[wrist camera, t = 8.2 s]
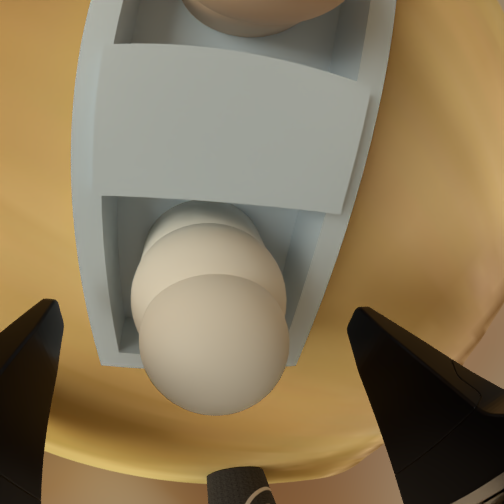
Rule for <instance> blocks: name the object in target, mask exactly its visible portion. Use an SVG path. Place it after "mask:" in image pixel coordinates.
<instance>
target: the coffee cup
mask: <svg viewBox="0 0 504 504" xmlns="http://www.w3.org/2000/svg"><path fill="white" fill-rule="evenodd" d="M207 488H208V489H207V490H208V503H209V504H276V503H275V500H274V498H273V495H272V493H271V490H270V487H269V485H268V482H267V479H266V476H265V474H264V471H263V469H261V468H258V467H237V468H230V469H224V470H220V471H217V472H214V473H211V474H209V475H208V476H207Z"/></svg>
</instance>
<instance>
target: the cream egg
mask: <svg viewBox="0 0 504 504" xmlns="http://www.w3.org/2000/svg"><path fill="white" fill-rule="evenodd" d="M286 301H287V297H286V289H285V283H284V279H283V276H282V273H281V271H280V268H279V266H278V264H277V262H276V261H275V259H274V258H273V256H272V255H271V253H270V252H269V251H268V250H267V249H266V247H265V245H264V243H263V241H262V239H261V236H260V234H259V232H258V230H257V228H256V226H255V225H254V223H253V222H252V220H251V219H250V218H249V217H248V216H247V215H246V214H245V213H244V212H242V211H241V210H240V209H238V208H236V207H235V206H233V205H230V204H228V203H226V202H213V201H199V200H191V201H187V202H183V203H181V204H178V205H176V206H174V207H172V208H170V209H169V210H167V211H166V212H164V213H163V214H162V215H161V216H160V217H159V218H158V219H157V220H156V221H155V222H154V224H153V225H152V227H151V228H150V230H149V232H148V235H147V237H146V240H145V244H144V248H143V253H142V257H141V261H140V263H139V265H138V267H137V270H136V273H135V276H134V279H133V282H132V288H131V310H132V316H133V320H134V323H135V326H136V328H137V331H138V333H139V350H140V356H141V360H142V363H143V366H144V368H145V371H146V373H147V375H148V376H149V378H150V380H151V381H152V383H153V384H154V386H155V387H156V388H157V389H158V390H159V391H160V392H161V393H162V394H163V395H164V396H165V397H166V398H167V399H169V400H170V401H171V402H173V403H174V404H176V405H178V406H180V407H182V408H183V409H186V410H188V411H191V412H194V413H198V414H203V415H213V416H217V415H228V414H233V413H237V412H240V411H243V410H245V409H247V408H249V407H251V406H253V405H255V404H256V403H258V402H259V401H261V400H262V399H263V398H264V397H266V396H267V395H268V394H269V393H270V392H271V391H272V390H273V388H274V387H275V385H276V384H277V383H278V381H279V380H280V378H281V376H282V374H283V372H284V369H285V367H286V363H287V359H288V355H289V343H290V341H289V332H288V326H287V323H286V320H285V314H286Z"/></svg>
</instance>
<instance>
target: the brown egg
mask: <svg viewBox="0 0 504 504" xmlns="http://www.w3.org/2000/svg"><path fill="white" fill-rule="evenodd" d="M344 1H345V0H182V2H183V3H184V5H185V7H186V8H187V9H188V11H189V12H190V13H191V14H192V15H193V16H194V17H195V18H196V19H197V20H199V21H200V22H201V23H203V24H204V25H206V26H208V27H210V28H212V29H214V30H216V31H218V32H222V33H225V34H228V35H233V36H239V37H265V36H270V35H274V34H277V33H280V32H283V31H285V30H287V29H289V28H291V27H293V26H294V25H296V24H298V23H300V22H302V21H306V20H309V19H312V18H315V17H318V16H320V15H323V14H325V13H327V12H329V11H331V10H332V9H334V8H335V7H337V6H338V5H340V4H341V3H342V2H344Z"/></svg>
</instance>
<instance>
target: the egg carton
mask: <svg viewBox="0 0 504 504" xmlns="http://www.w3.org/2000/svg"><path fill="white" fill-rule="evenodd" d="M395 9H396V0H345V1H344V2H342V3H341V4H340V5H338V6H337V7H335V8H334V9H332V10H331V11H329V12H327V13H325V14H323V15H320V16H318V17H315V18H312V19H309V20H306V21H302V22H300V23H298V24H296V25H294V26H293V27H291V28H289V29H287V30H285V31H283V32H280V33H277V34H274V35H270V36H265V37H239V36H233V35H228V34H225V33H222V32H218V31H216V30H214V29H212V28H210V27H208V26H206V25H204V24H203V23H201V22H200V21H199V20H197V19H196V18H195V17H194V16H193V15H192V14H191V13H190V12H189V11H188V9H187V8H186V7H185V5H184V3H183V2H182V0H91V3H90V6H89V10H88V14H87V18H86V23H85V27H84V32H83V37H82V42H81V48H80V53H79V60H78V66H77V73H76V81H75V90H74V101H73V114H72V132H71V185H72V205H73V218H74V229H75V238H76V247H77V254H78V262H79V268H80V275H81V281H82V286H83V292H84V297H85V302H86V307H87V312H88V316H89V320H90V325H91V329H92V333H93V337H94V341H95V345H96V348H97V352H98V356H99V359H100V363H101V365H105V366H116V367H129V368H144V366H143V363H142V360H141V356H140V350H139V333H138V331H137V328H136V326H135V323H134V320H133V316H132V310H131V288H132V282H133V279H134V276H135V273H136V270H137V267H138V265H139V263H140V261H141V257H142V253H143V248H144V244H145V240H146V237H147V235H148V232H149V230H150V228H151V227H152V225H153V224H154V222H155V221H156V220H157V219H158V218H159V217H160V216H161V215H162V214H163V213H164V212H166V211H167V210H169V209H170V208H172V207H174V206H176V205H178V204H181V203H183V202H187V201H191V200H199V201H213V202H226V203H228V204H230V205H233V206H235V207H236V208H238V209H240V210H241V211H242V212H244V213H245V214H246V215H247V216H248V217H249V218H250V219H251V220H252V222H253V223H254V225H255V226H256V228H257V230H258V232H259V234H260V236H261V239H262V241H263V243H264V245H265V247H266V249H267V250H268V251H269V252H270V253H271V255H272V256H273V258H274V259H275V261H276V262H277V264H278V266H279V268H280V271H281V273H282V276H283V279H284V283H285V289H286V297H287V301H286V314H285V320H286V323H287V326H288V332H289V341H290V343H289V355H288V359H287V363H286V366H296V364H297V361H298V359H299V357H300V354H301V352H302V349H303V347H304V345H305V342H306V340H307V337H308V335H309V332H310V330H311V327H312V325H313V322H314V320H315V317H316V314H317V312H318V309H319V307H320V304H321V301H322V299H323V296H324V293H325V290H326V288H327V285H328V282H329V279H330V277H331V274H332V271H333V268H334V265H335V262H336V259H337V256H338V253H339V250H340V247H341V244H342V241H343V238H344V235H345V232H346V229H347V226H348V222H349V219H350V216H351V213H352V209H353V206H354V203H355V199H356V196H357V192H358V189H359V185H360V182H361V178H362V174H363V171H364V167H365V163H366V159H367V156H368V152H369V148H370V144H371V140H372V136H373V131H374V127H375V123H376V118H377V114H378V109H379V105H380V100H381V95H382V90H383V85H384V80H385V75H386V69H387V64H388V58H389V52H390V45H391V39H392V32H393V25H394V17H395Z"/></svg>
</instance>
